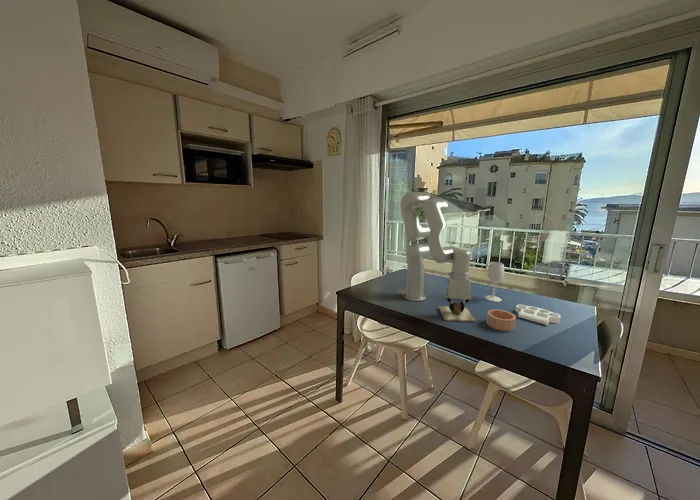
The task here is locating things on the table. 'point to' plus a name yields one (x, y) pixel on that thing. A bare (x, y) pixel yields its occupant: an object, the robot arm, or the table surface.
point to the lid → (456, 313)
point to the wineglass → (495, 278)
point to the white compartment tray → (537, 314)
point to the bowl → (501, 320)
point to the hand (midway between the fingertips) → (456, 310)
